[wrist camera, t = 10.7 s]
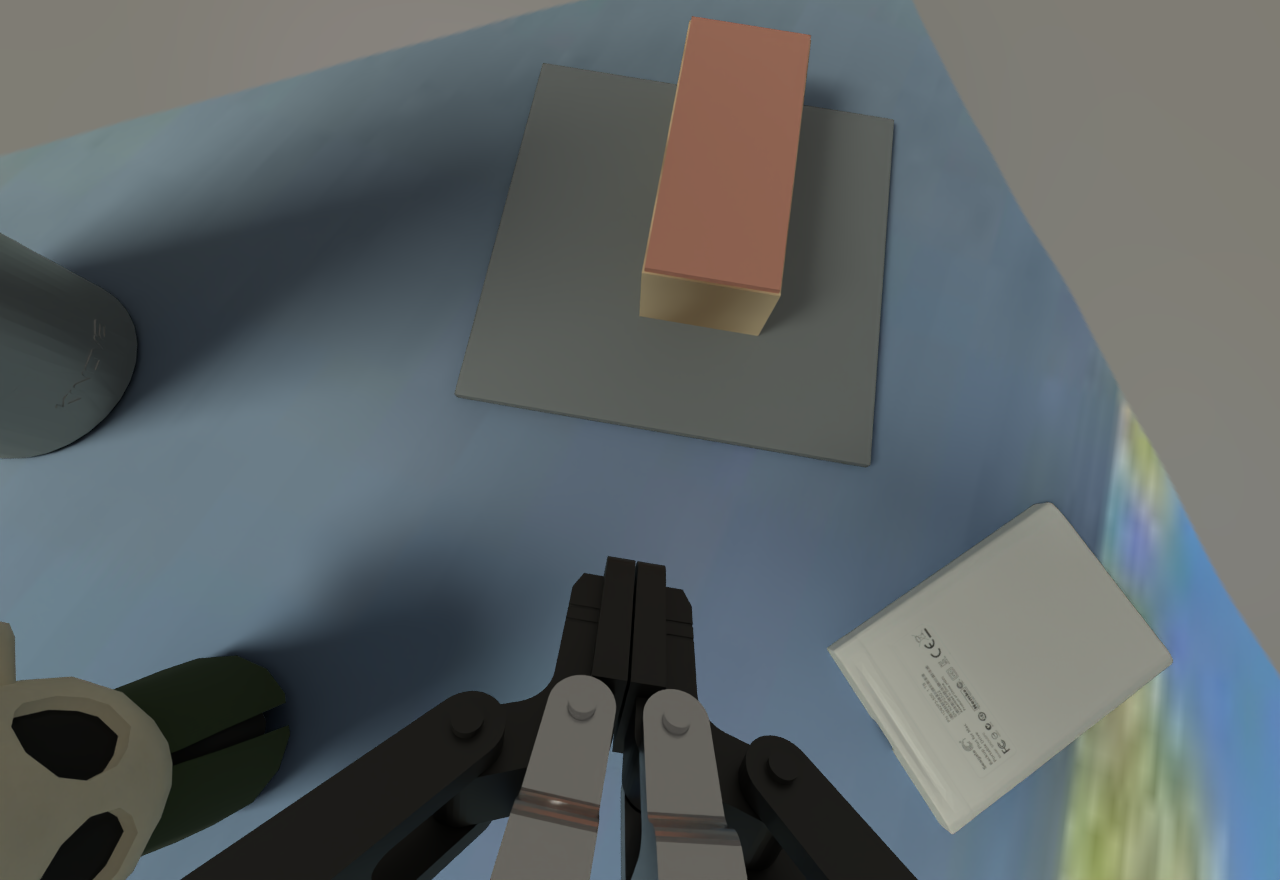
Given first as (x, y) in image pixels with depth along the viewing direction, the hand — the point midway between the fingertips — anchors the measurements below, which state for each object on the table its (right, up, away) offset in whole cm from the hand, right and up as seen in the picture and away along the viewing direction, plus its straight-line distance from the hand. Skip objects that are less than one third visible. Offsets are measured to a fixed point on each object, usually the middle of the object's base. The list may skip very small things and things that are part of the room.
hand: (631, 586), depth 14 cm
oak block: (+3, +10, +11) cm, 15 cm away
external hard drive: (+16, -6, +11) cm, 20 cm away
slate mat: (+3, +14, +15) cm, 20 cm away
